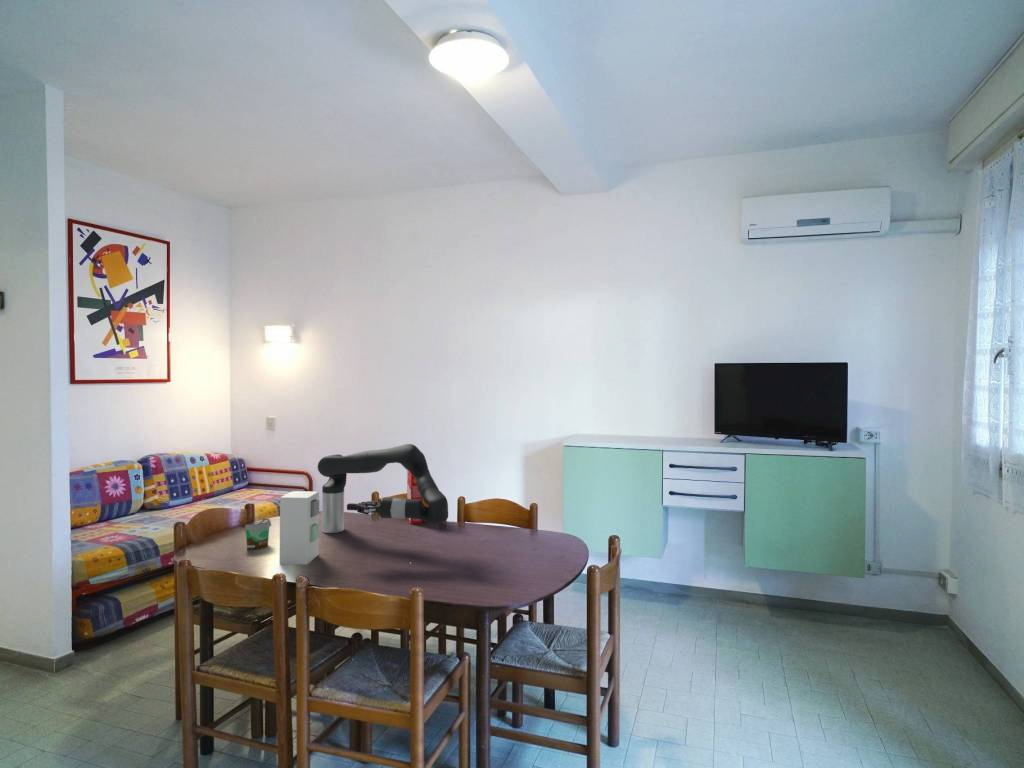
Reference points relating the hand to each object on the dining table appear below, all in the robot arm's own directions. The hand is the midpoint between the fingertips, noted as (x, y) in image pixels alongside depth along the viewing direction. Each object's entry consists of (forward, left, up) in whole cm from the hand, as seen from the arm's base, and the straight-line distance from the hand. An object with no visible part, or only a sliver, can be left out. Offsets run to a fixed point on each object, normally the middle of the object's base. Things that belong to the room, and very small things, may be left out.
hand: (347, 506), depth 225 cm
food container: (-12, -39, -20) cm, 46 cm away
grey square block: (+2, -14, -3) cm, 14 cm away
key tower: (+2, -17, -20) cm, 26 cm away
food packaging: (-65, +9, -20) cm, 68 cm away
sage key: (+2, -14, -12) cm, 19 cm away
